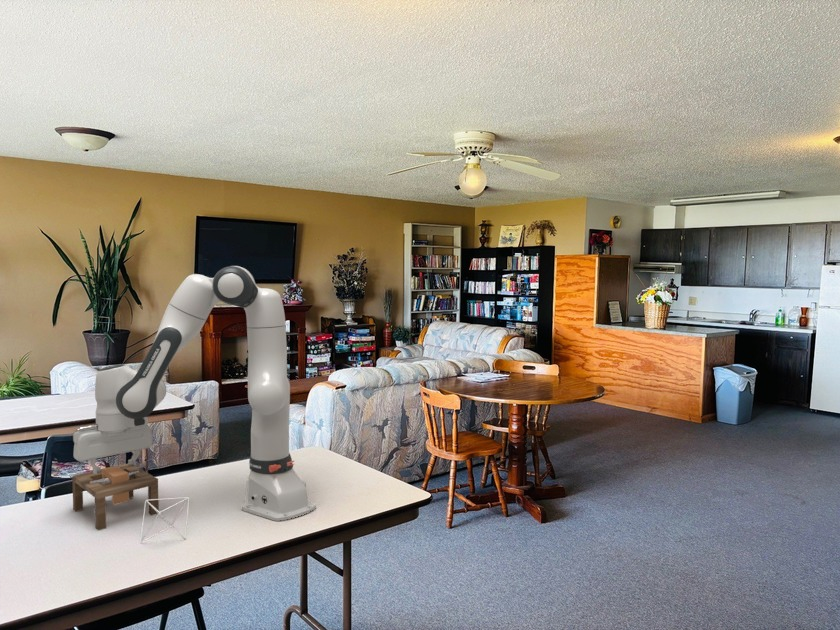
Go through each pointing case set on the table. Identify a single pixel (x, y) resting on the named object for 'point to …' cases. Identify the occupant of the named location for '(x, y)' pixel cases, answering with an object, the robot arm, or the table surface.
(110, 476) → the tan cardboard brick
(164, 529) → the geometric polyhedron
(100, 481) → the grey textured rod
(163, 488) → the table surface
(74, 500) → the small wooden table
